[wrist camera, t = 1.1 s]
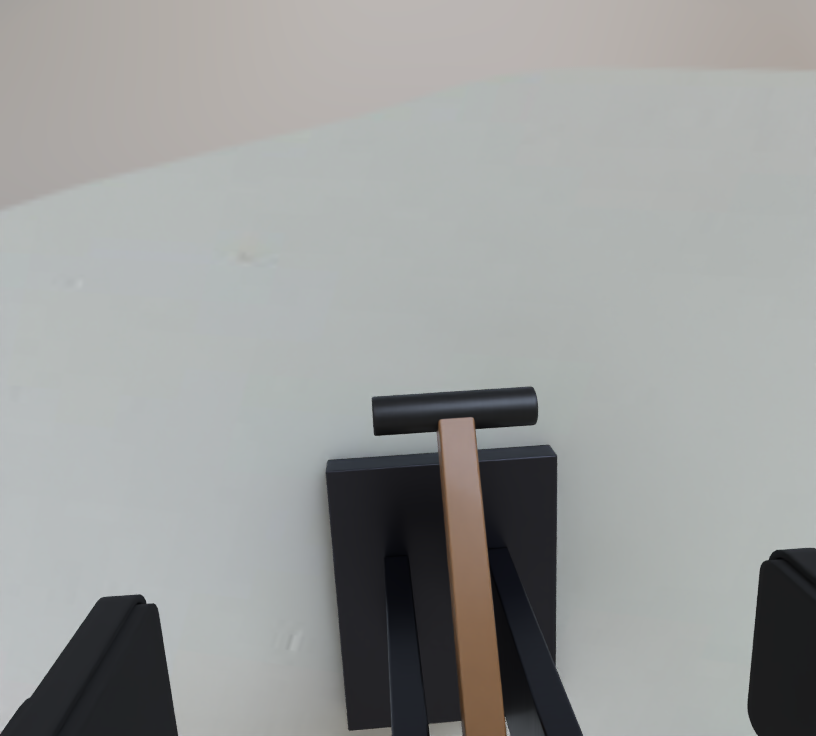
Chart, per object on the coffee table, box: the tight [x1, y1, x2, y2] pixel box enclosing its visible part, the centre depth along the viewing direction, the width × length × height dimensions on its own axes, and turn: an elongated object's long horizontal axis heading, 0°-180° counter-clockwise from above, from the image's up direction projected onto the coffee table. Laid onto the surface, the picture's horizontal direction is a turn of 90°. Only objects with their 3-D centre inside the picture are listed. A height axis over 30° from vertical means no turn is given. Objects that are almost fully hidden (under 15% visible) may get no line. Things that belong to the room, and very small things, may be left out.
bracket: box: [326, 445, 583, 736], centre depth 22 cm, size 12×9×13 cm
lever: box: [372, 387, 538, 736], centre depth 19 cm, size 13×5×2 cm, turn 3°
